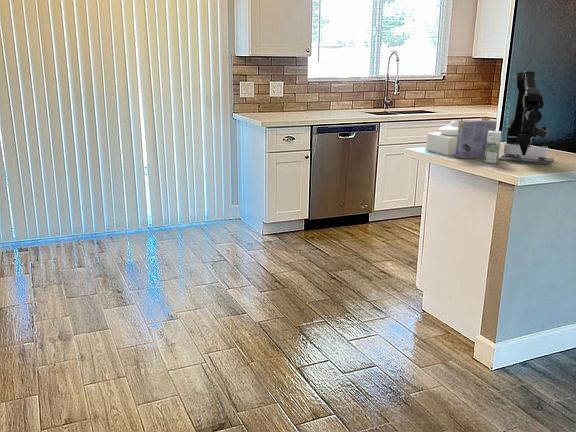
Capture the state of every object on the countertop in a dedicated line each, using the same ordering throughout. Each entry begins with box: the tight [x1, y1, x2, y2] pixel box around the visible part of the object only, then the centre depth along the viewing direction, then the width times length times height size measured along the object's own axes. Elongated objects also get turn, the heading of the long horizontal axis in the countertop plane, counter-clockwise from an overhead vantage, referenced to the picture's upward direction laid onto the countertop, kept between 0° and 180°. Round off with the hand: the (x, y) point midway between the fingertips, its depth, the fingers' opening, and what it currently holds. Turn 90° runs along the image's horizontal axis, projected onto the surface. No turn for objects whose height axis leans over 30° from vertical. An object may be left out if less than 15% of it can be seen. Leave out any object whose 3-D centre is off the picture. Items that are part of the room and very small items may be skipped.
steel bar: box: [503, 144, 549, 158], centre depth 257 cm, size 18×4×4 cm, turn 57°
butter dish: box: [425, 120, 459, 157], centre depth 280 cm, size 18×18×16 cm
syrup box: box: [483, 130, 503, 165], centre depth 253 cm, size 6×6×14 cm
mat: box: [498, 156, 552, 166], centre depth 258 cm, size 22×7×1 cm, turn 57°
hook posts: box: [501, 143, 555, 163], centre depth 264 cm, size 22×8×6 cm, turn 57°
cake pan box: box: [454, 120, 498, 159], centre depth 265 cm, size 19×5×18 cm, turn 106°
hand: (524, 154), depth 257 cm, fingers closed on steel bar, 4 cm apart
